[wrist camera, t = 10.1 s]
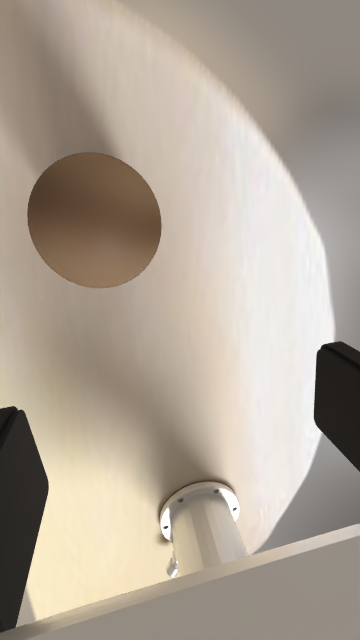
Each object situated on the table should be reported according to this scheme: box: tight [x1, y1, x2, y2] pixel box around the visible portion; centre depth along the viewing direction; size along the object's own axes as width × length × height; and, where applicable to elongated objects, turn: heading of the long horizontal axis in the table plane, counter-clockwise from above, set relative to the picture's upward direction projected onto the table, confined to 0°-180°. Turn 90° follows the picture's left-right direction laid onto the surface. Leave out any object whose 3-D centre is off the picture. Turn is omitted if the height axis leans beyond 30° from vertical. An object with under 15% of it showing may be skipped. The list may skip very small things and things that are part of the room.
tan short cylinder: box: [27, 153, 161, 288], centre depth 18 cm, size 7×7×5 cm
